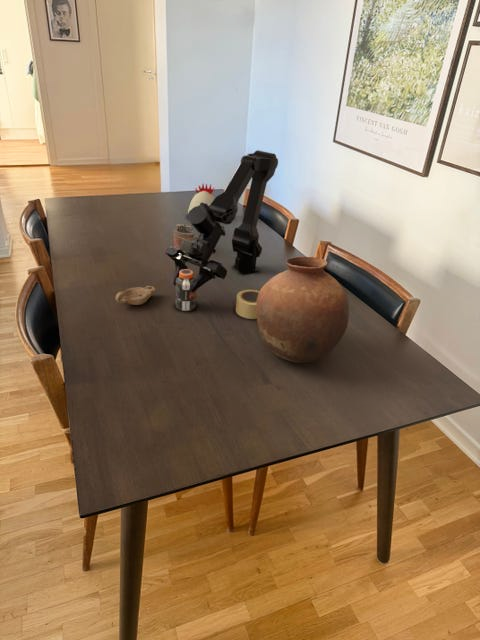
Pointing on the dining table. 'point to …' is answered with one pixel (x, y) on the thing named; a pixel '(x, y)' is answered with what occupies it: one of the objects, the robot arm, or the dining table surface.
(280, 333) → the pottery
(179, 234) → the red upright container
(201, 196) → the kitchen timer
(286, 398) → the dining table surface
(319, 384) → the dining table surface
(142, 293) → the oil lamp
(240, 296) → the tape roll
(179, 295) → the pill bottle
